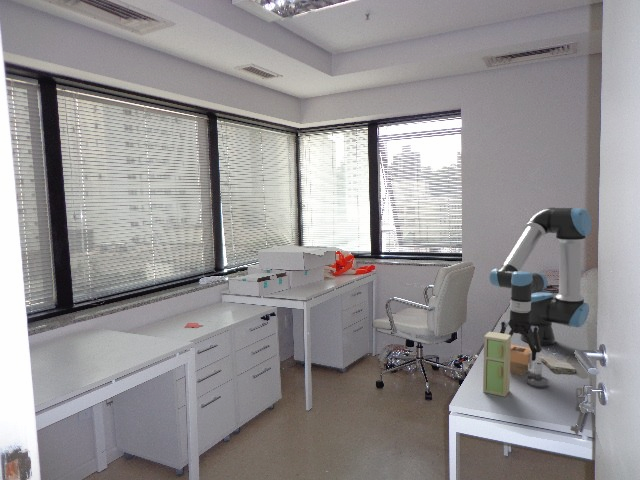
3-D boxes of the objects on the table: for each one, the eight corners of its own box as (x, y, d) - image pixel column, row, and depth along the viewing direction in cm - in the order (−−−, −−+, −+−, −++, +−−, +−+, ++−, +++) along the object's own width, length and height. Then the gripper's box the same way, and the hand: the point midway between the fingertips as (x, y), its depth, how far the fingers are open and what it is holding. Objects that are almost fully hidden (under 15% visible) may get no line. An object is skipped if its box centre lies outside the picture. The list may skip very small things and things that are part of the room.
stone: (537, 360, 199) (538, 354, 199) (563, 361, 198) (564, 355, 198) (550, 374, 185) (550, 367, 184) (578, 375, 183) (578, 368, 183)
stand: (511, 366, 191) (512, 344, 190) (528, 370, 187) (529, 347, 186) (507, 371, 186) (508, 348, 185) (523, 375, 182) (525, 352, 181)
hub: (529, 379, 179) (530, 359, 178) (550, 383, 174) (551, 363, 173) (524, 385, 173) (525, 364, 172) (545, 390, 169) (546, 369, 168)
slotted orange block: (509, 353, 192) (510, 344, 192) (533, 358, 187) (533, 348, 186) (503, 359, 185) (503, 350, 185) (527, 364, 180) (527, 355, 179)
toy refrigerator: (481, 392, 167) (483, 336, 164) (486, 385, 173) (488, 331, 170) (504, 398, 162) (507, 340, 160) (509, 390, 168) (511, 334, 166)
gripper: (489, 308, 187) (487, 361, 190) (548, 317, 174) (545, 374, 177) (495, 304, 193) (493, 356, 196) (552, 312, 180) (549, 368, 183)
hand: (517, 365), depth 186 cm, fingers closed on slotted orange block, 9 cm apart
